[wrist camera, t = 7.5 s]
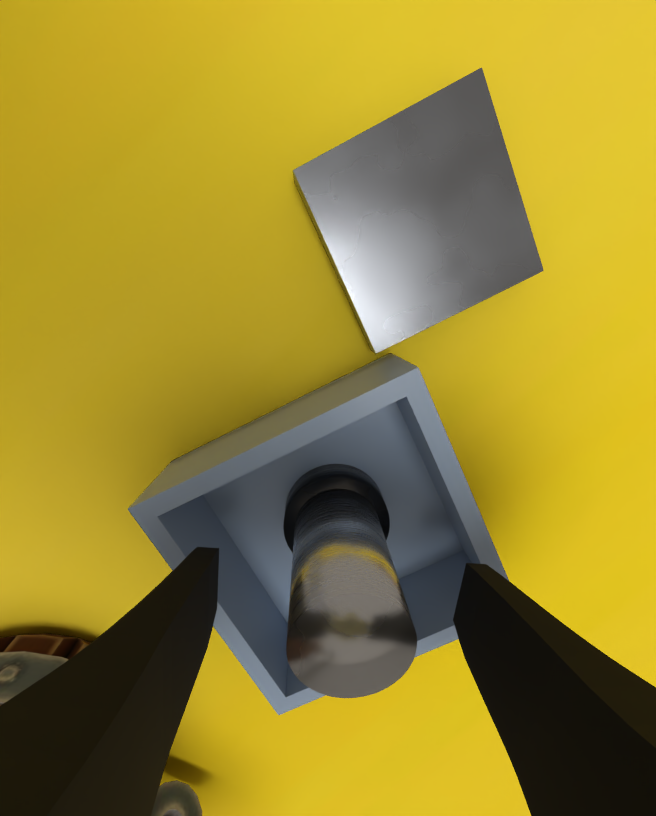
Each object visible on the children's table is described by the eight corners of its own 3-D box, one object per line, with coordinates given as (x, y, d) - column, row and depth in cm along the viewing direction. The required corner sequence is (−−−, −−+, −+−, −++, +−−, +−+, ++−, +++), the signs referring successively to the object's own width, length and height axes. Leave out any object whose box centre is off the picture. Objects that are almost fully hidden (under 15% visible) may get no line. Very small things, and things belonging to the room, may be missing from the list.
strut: (279, 545, 14) (259, 704, 9) (292, 457, 13) (279, 569, 8) (372, 556, 15) (414, 715, 9) (392, 470, 14) (452, 586, 8)
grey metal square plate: (294, 181, 12) (293, 170, 11) (467, 88, 11) (481, 67, 10) (370, 350, 13) (375, 353, 12) (525, 273, 13) (543, 270, 12)
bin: (172, 460, 14) (127, 508, 10) (390, 353, 13) (418, 367, 10) (284, 630, 16) (278, 715, 13) (476, 546, 16) (522, 611, 12)
